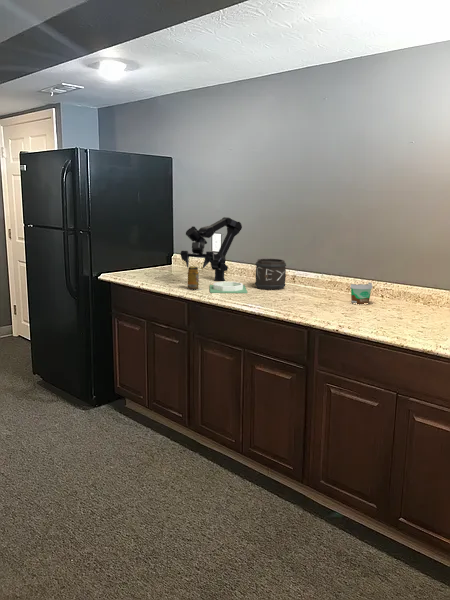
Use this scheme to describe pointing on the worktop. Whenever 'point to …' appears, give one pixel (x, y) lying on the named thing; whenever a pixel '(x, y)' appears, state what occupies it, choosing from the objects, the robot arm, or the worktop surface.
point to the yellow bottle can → (193, 278)
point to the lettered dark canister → (270, 274)
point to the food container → (360, 293)
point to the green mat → (227, 291)
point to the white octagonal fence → (228, 286)
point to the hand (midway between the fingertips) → (195, 267)
